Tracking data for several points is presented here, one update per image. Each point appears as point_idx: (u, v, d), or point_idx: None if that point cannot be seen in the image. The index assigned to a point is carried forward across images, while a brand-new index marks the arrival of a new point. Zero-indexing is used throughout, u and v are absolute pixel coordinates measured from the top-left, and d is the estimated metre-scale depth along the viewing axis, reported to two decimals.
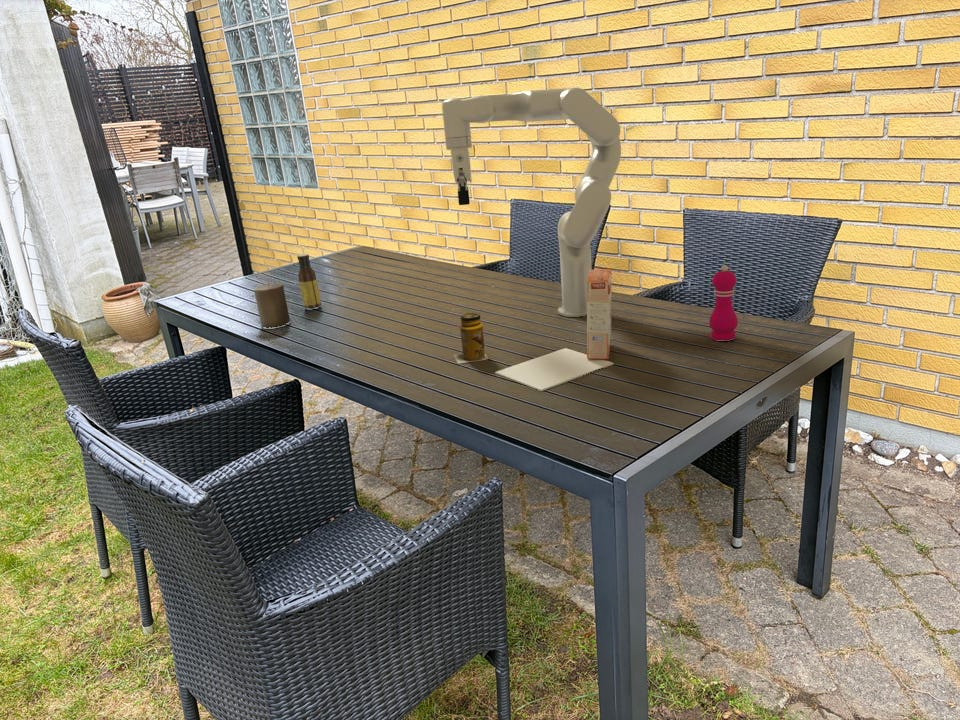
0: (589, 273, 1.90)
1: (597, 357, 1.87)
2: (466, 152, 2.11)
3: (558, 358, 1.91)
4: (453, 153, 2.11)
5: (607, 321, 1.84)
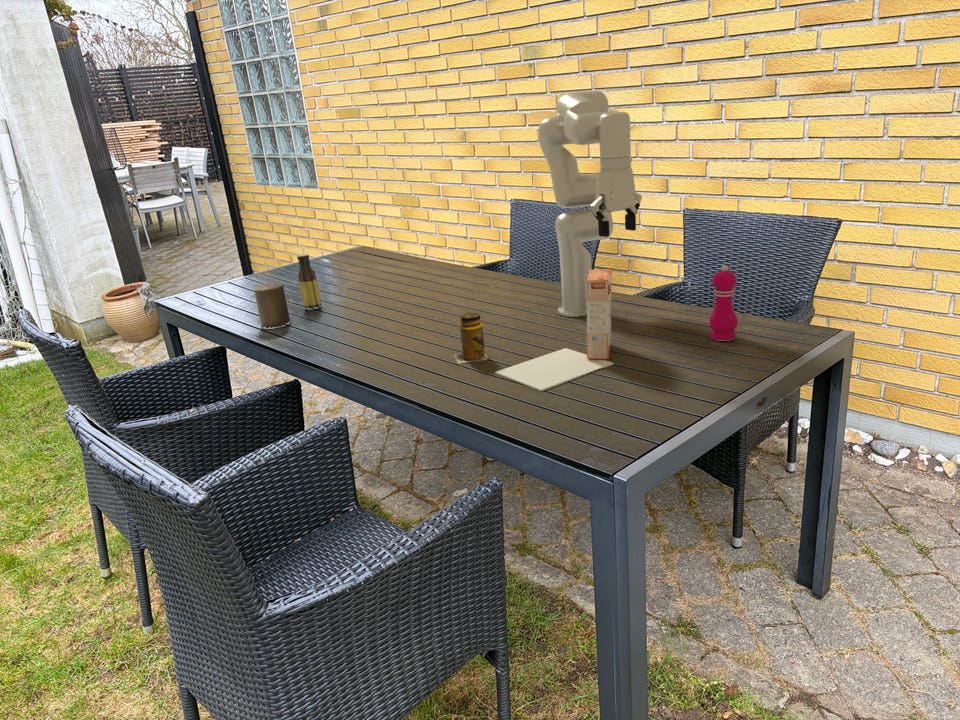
0: (589, 273, 1.90)
1: (597, 357, 1.87)
2: None
3: (558, 358, 1.91)
4: (632, 172, 1.84)
5: (607, 321, 1.84)
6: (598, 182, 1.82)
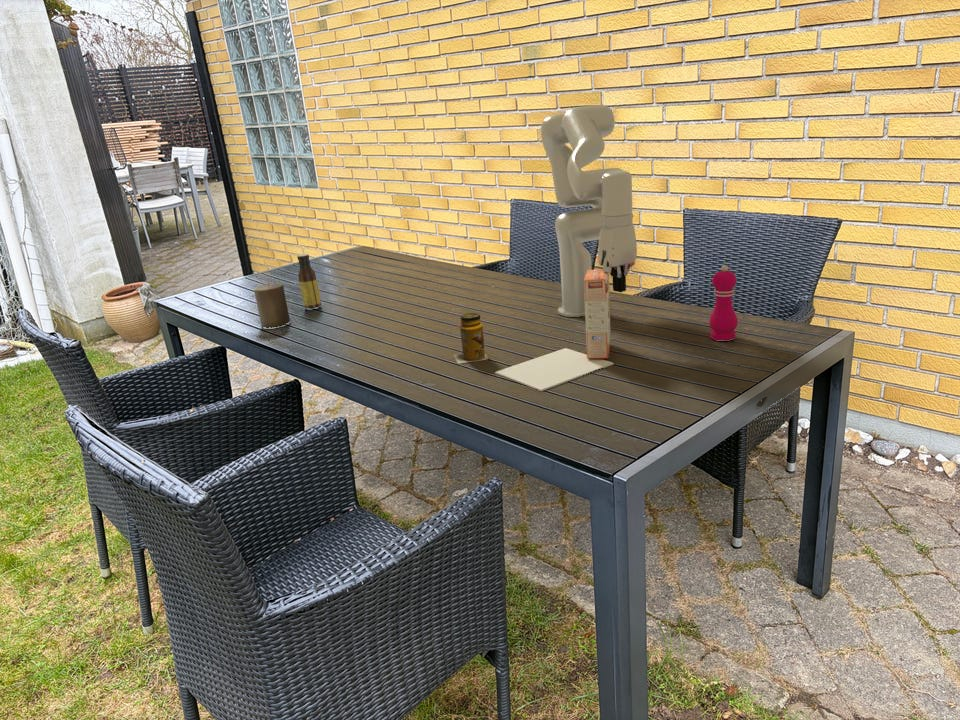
0: (586, 273, 1.90)
1: (597, 356, 1.87)
2: None
3: (558, 358, 1.91)
4: None
5: (605, 320, 1.84)
6: (600, 238, 1.87)
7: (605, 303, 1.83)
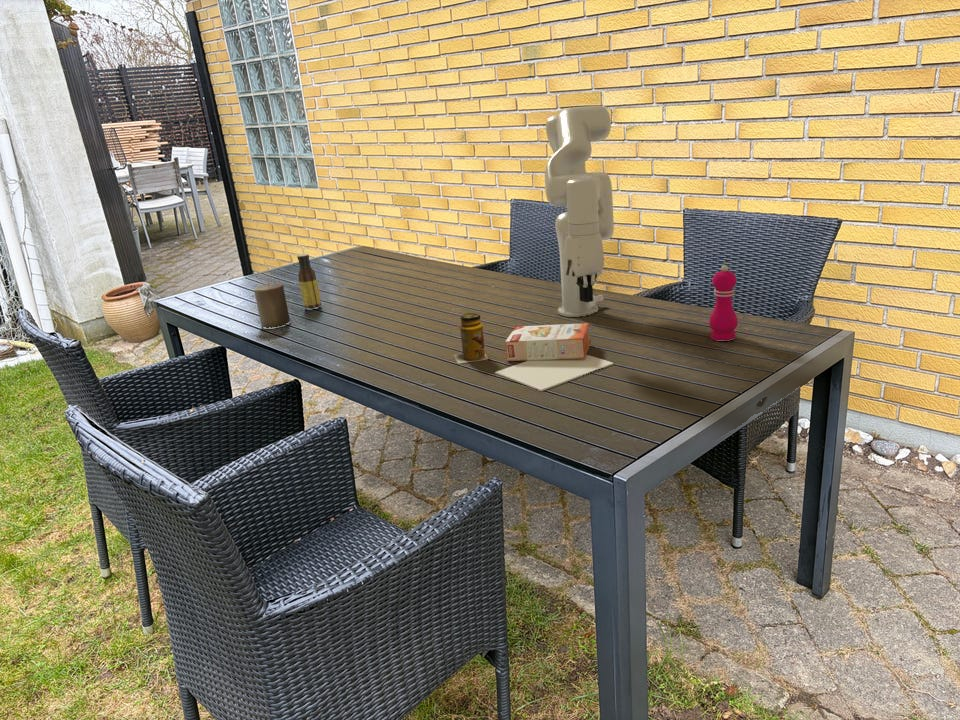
0: None
1: (582, 348, 1.87)
2: None
3: None
4: (600, 236, 1.82)
5: (544, 341, 1.89)
6: (566, 247, 1.81)
7: (528, 341, 1.90)
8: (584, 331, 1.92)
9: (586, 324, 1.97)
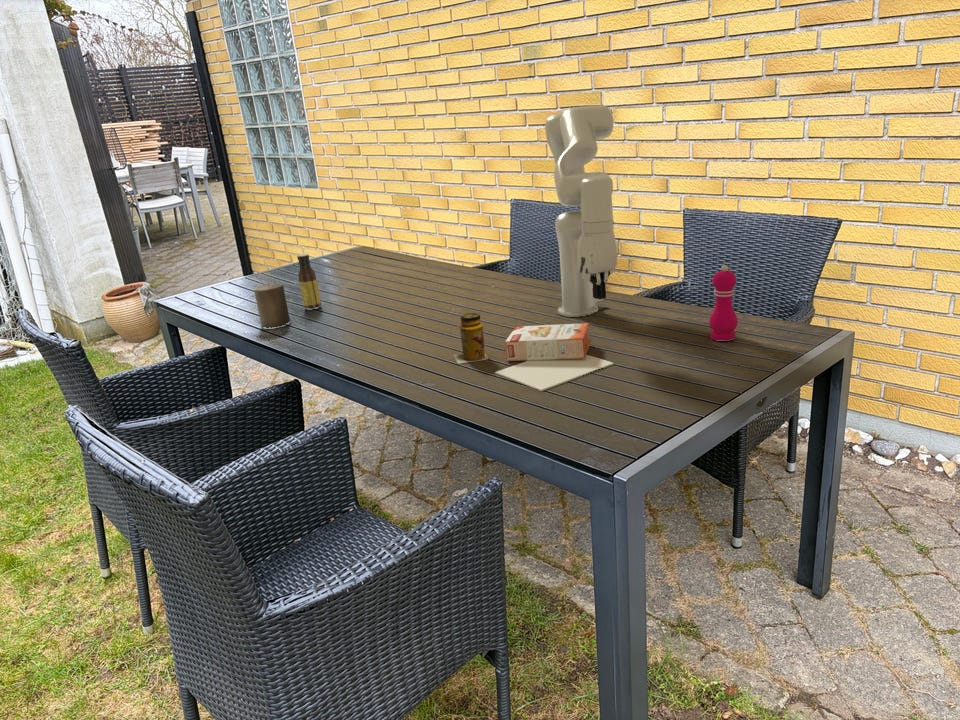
0: None
1: (582, 348, 1.87)
2: None
3: None
4: None
5: (544, 341, 1.89)
6: (579, 245, 1.83)
7: (528, 341, 1.90)
8: (584, 331, 1.92)
9: (586, 324, 1.97)
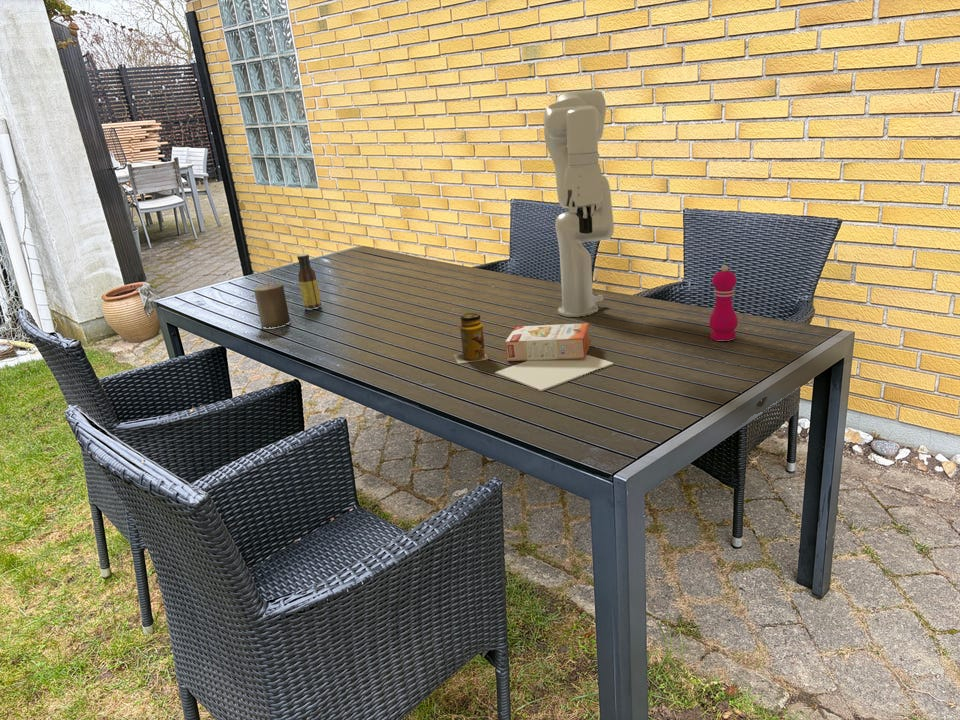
0: None
1: (582, 348, 1.87)
2: None
3: None
4: None
5: (544, 341, 1.89)
6: (566, 178, 1.83)
7: (528, 341, 1.90)
8: (584, 331, 1.92)
9: (586, 324, 1.97)
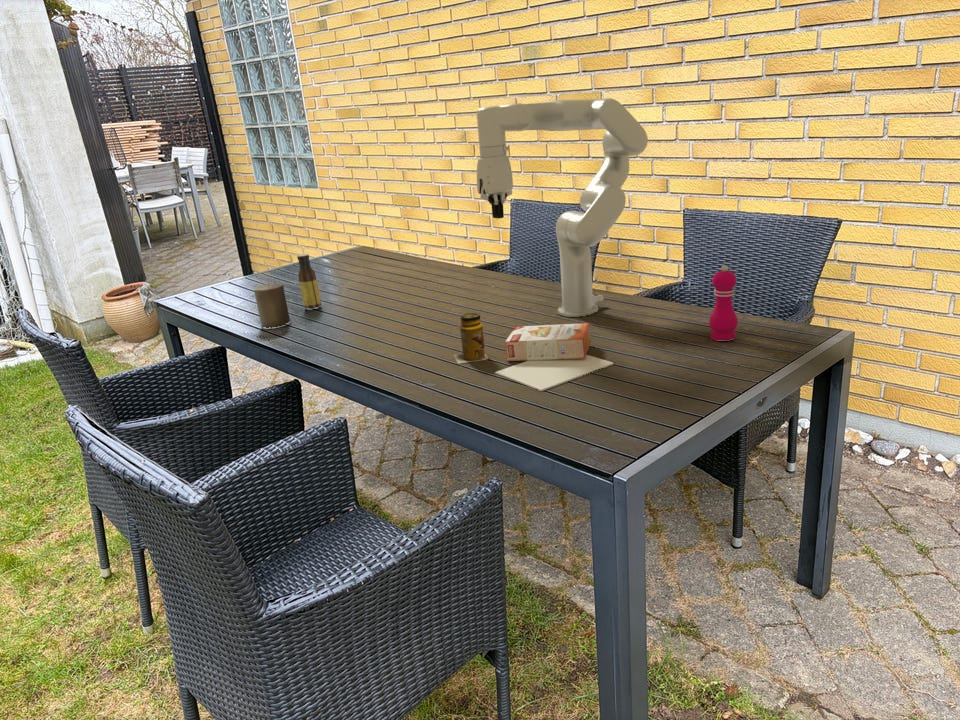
0: None
1: (582, 348, 1.87)
2: None
3: None
4: None
5: (544, 341, 1.89)
6: (477, 168, 2.07)
7: (528, 341, 1.90)
8: (584, 331, 1.92)
9: (586, 324, 1.97)
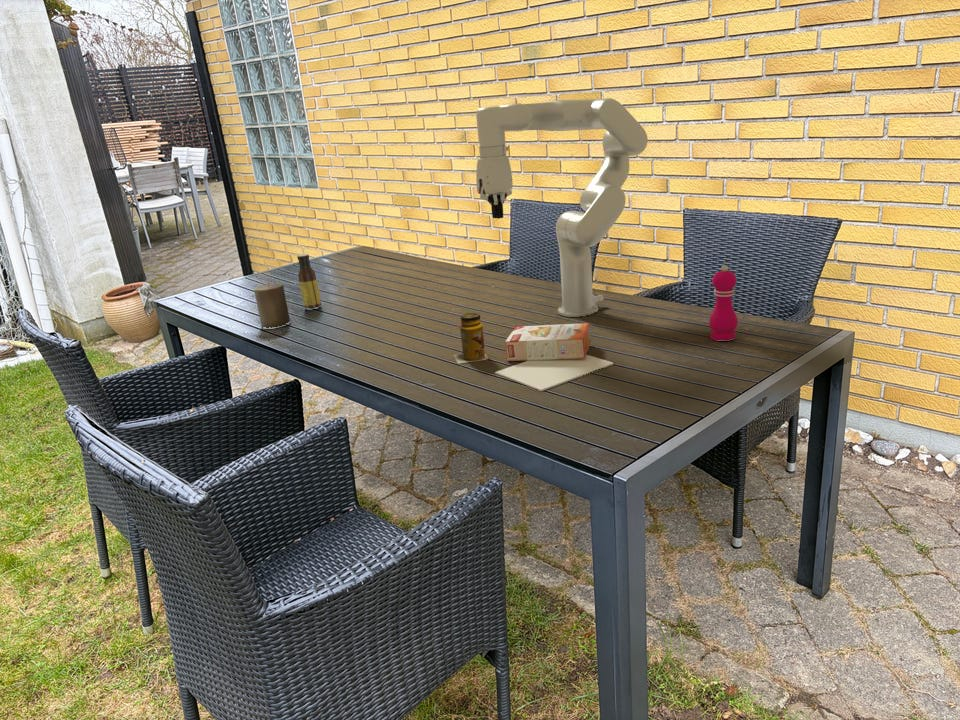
0: None
1: (582, 348, 1.87)
2: None
3: None
4: (508, 159, 2.09)
5: (544, 341, 1.89)
6: (477, 168, 2.07)
7: (528, 341, 1.90)
8: (584, 331, 1.92)
9: (586, 324, 1.97)
